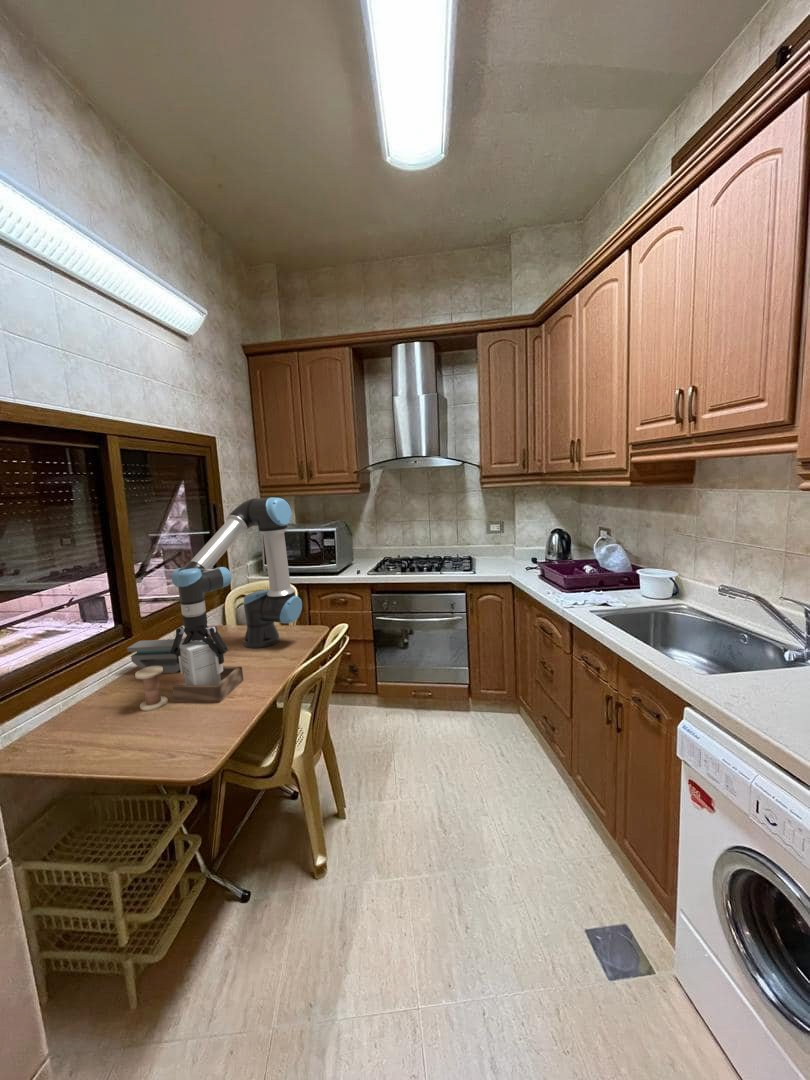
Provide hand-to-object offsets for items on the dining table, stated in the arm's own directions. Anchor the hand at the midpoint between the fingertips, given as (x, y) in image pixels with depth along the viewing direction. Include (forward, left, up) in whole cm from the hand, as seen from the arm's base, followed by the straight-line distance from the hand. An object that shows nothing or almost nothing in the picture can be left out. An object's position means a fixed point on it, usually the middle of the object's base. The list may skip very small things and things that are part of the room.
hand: (202, 672), depth 157 cm
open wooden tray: (0, +2, -7) cm, 7 cm away
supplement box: (0, 0, -6) cm, 6 cm away
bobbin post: (+10, -12, -7) cm, 17 cm away
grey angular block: (-18, -27, -7) cm, 33 cm away
